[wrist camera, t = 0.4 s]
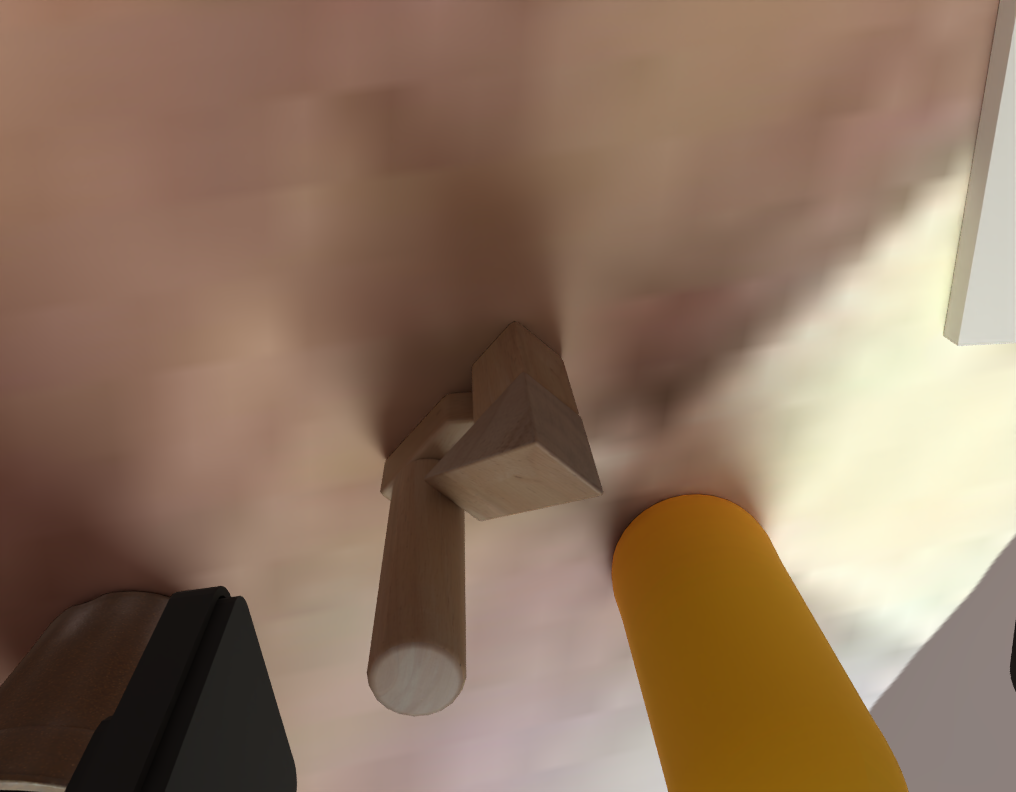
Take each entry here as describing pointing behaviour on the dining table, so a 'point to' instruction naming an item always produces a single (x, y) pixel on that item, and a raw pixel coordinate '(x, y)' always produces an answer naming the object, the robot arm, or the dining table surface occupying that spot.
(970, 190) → the board
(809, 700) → the beer bottle
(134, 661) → the plant pot
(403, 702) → the wooden block
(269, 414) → the dining table surface
